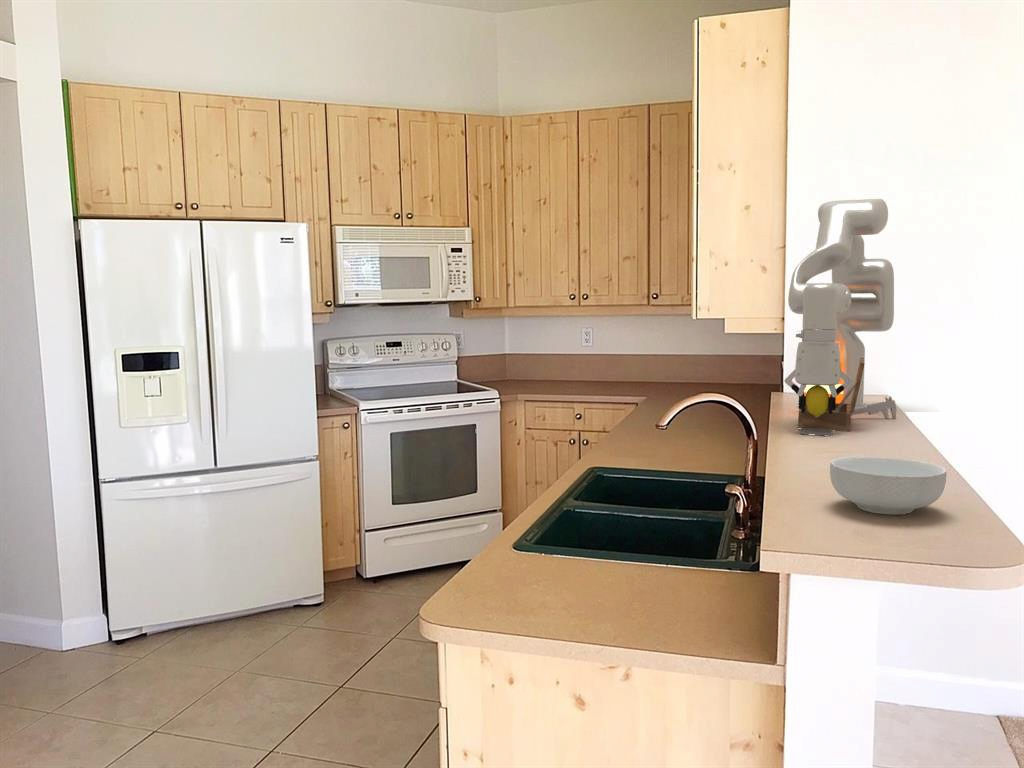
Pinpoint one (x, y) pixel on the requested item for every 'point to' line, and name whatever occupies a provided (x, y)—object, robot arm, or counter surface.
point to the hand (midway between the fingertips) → (816, 412)
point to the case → (840, 416)
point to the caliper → (878, 408)
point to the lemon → (817, 400)
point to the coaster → (816, 431)
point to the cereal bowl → (887, 483)
